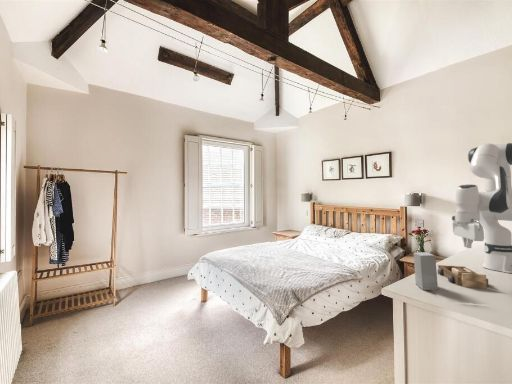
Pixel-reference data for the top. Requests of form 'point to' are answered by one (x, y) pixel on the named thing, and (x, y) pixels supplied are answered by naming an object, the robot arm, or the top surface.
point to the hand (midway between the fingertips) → (467, 247)
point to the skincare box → (425, 271)
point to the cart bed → (451, 276)
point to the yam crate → (460, 271)
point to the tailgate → (474, 280)
